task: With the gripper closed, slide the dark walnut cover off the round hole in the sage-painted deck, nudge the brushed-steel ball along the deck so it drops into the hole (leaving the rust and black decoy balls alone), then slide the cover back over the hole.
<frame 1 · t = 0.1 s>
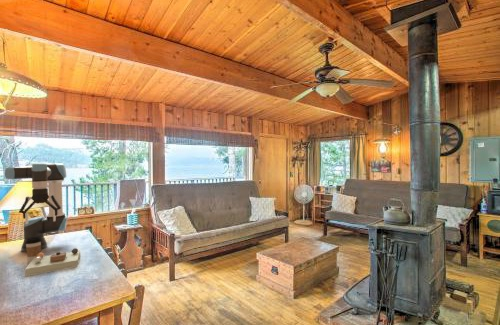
hand: (41, 222, 161), 28 cm above the table, fingers open, 13 cm apart
coffee cup: (34, 260, 173), on the table
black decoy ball: (74, 251, 173), point 6 cm above the table, touching deck
deck: (55, 265, 164), on the table
cover: (58, 255, 163), point 6 cm above the table, slide at 0.0 cm
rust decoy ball: (40, 255, 166), point 6 cm above the table, touching deck
steel ball: (38, 259, 158), point 6 cm above the table, touching deck
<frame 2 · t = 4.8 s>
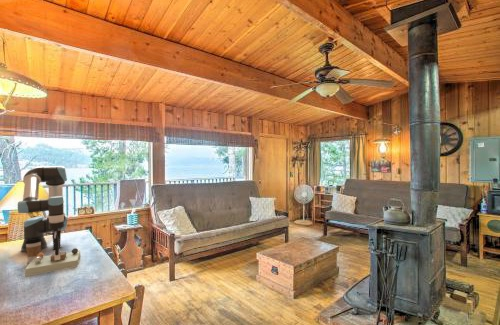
hand: (57, 259, 160), 5 cm above the table, fingers closed
cover: (58, 255, 164), point 6 cm above the table, slide at 1.1 cm, touching gripper
everything else where it was.
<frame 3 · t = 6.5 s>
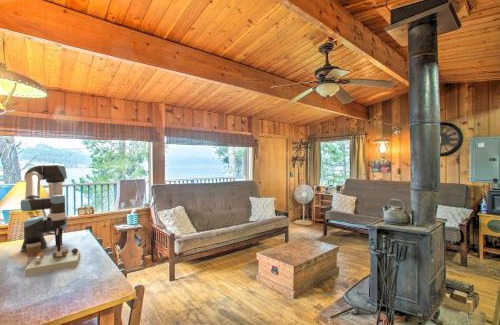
hand: (59, 255, 166), 5 cm above the table, fingers closed
cover: (60, 251, 170), point 6 cm above the table, slide at 8.2 cm, touching gripper
everything else where it was.
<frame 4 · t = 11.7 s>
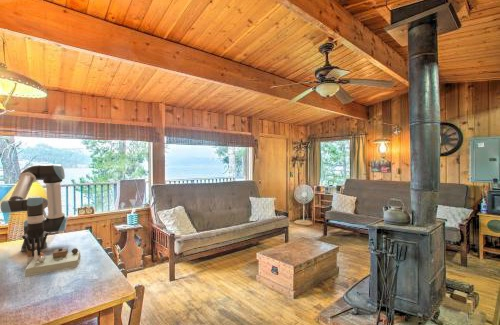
hand: (36, 261, 158), 5 cm above the table, fingers closed
cover: (60, 251, 170), point 6 cm above the table, slide at 8.3 cm
steel ball: (41, 259, 159), point 6 cm above the table, tilted 54°, touching deck, gripper
everything else where it was.
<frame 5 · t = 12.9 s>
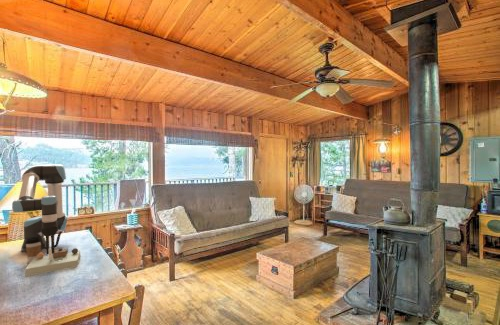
hand: (50, 258, 161), 5 cm above the table, fingers closed
steel ball: (58, 262, 163), point 2 cm above the table, tilted 31°
everything else where it was.
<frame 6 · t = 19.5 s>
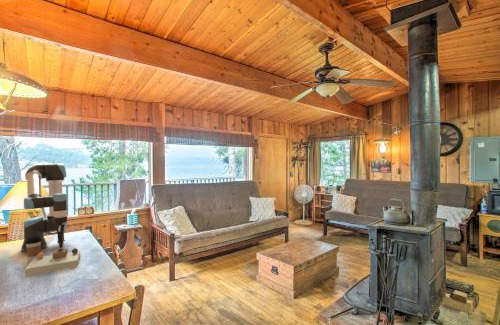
hand: (61, 251, 173), 5 cm above the table, fingers closed
cover: (60, 252, 169), point 6 cm above the table, slide at 7.4 cm, touching gripper
everything else where it was.
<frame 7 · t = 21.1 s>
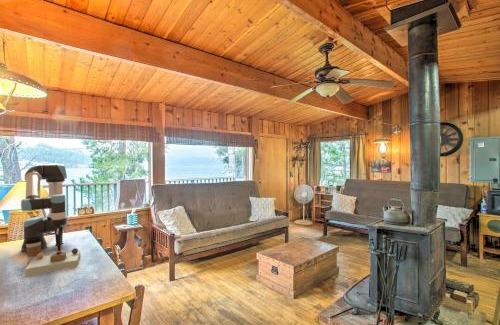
hand: (59, 255, 167), 5 cm above the table, fingers closed
cover: (58, 255, 163), point 6 cm above the table, slide at 0.6 cm, touching gripper
everything else where it was.
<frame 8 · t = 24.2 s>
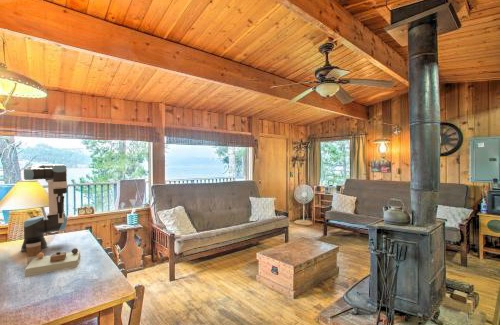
hand: (61, 222, 175), 24 cm above the table, fingers closed
cover: (58, 255, 163), point 6 cm above the table, slide at 0.5 cm
everything else where it was.
at the end: steel ball 0.4 cm from the target spot in the deck, point 1.7 cm above the deck's base; cover slide at 0.5 cm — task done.
